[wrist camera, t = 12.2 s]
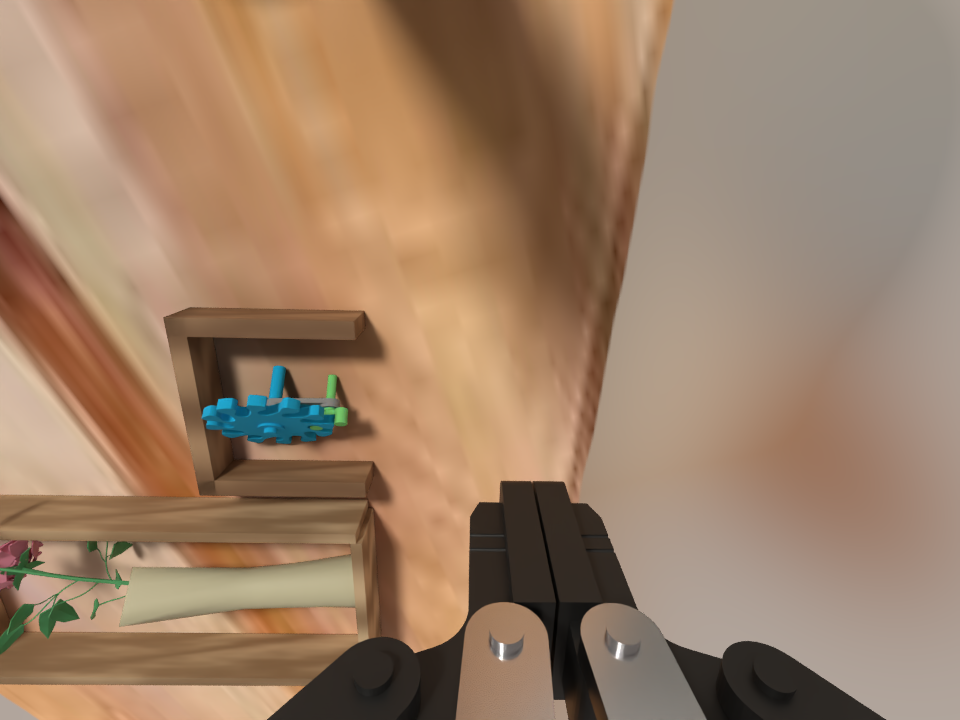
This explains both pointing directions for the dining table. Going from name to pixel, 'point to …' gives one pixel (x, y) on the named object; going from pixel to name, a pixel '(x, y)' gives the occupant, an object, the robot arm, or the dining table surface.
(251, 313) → the cradle
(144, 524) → the wooden tray
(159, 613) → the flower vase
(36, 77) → the dining table surface
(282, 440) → the gear
